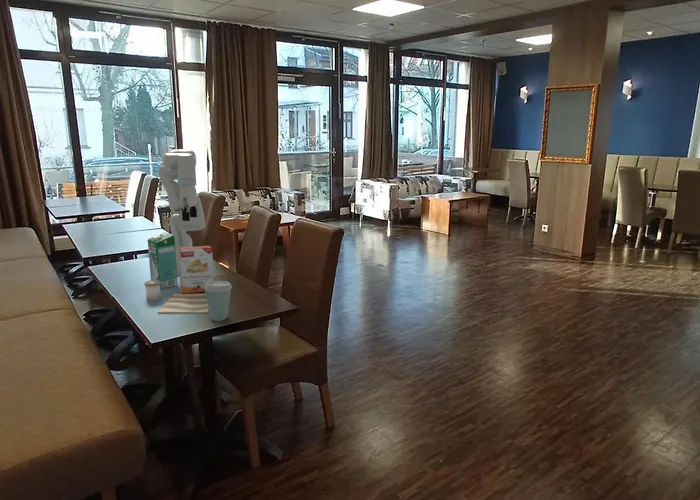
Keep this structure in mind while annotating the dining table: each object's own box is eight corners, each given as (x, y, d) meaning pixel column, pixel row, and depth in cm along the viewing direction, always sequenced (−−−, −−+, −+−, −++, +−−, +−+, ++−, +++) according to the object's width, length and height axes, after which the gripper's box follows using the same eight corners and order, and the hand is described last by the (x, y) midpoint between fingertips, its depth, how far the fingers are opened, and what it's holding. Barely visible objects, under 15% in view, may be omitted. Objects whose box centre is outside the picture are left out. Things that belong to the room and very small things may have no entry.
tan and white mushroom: (148, 296, 221) (147, 280, 219) (163, 296, 221) (162, 280, 219) (143, 301, 214) (142, 284, 212) (159, 301, 215) (157, 284, 213)
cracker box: (182, 294, 222) (180, 249, 218) (180, 291, 227) (178, 247, 223) (214, 291, 228) (212, 247, 225) (211, 288, 233) (209, 245, 230)
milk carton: (151, 285, 237) (146, 234, 231) (168, 281, 243) (165, 231, 237) (160, 289, 231) (156, 237, 225) (178, 285, 237) (174, 234, 231)
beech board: (173, 295, 223) (173, 293, 223) (217, 294, 225) (217, 293, 224) (157, 313, 201) (157, 312, 201) (207, 312, 202) (207, 311, 202)
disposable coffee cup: (215, 312, 203) (213, 277, 200) (238, 315, 200) (236, 280, 197) (200, 321, 194) (198, 284, 190) (224, 324, 191) (222, 287, 187)
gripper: (186, 180, 232) (188, 215, 236) (172, 183, 216) (174, 222, 220) (201, 180, 232) (204, 216, 236) (189, 183, 215) (191, 222, 219)
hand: (189, 219), depth 228 cm, fingers open, 9 cm apart
